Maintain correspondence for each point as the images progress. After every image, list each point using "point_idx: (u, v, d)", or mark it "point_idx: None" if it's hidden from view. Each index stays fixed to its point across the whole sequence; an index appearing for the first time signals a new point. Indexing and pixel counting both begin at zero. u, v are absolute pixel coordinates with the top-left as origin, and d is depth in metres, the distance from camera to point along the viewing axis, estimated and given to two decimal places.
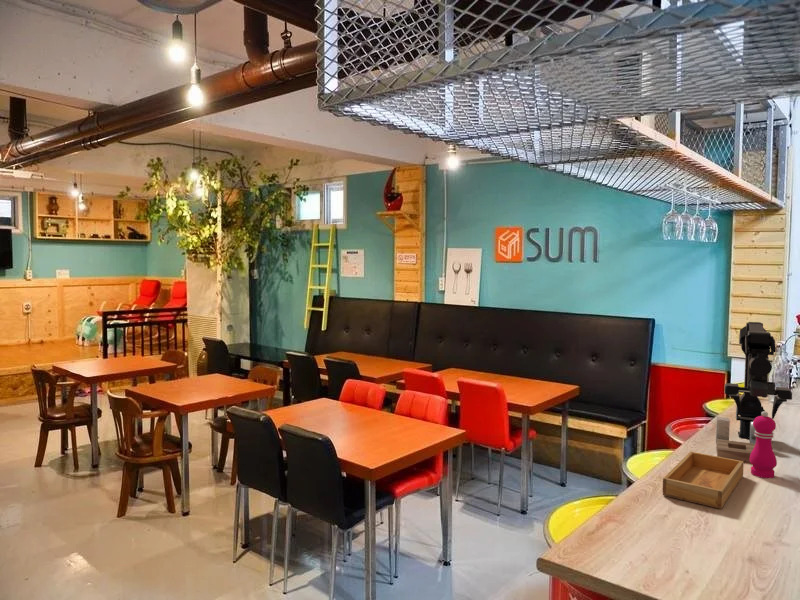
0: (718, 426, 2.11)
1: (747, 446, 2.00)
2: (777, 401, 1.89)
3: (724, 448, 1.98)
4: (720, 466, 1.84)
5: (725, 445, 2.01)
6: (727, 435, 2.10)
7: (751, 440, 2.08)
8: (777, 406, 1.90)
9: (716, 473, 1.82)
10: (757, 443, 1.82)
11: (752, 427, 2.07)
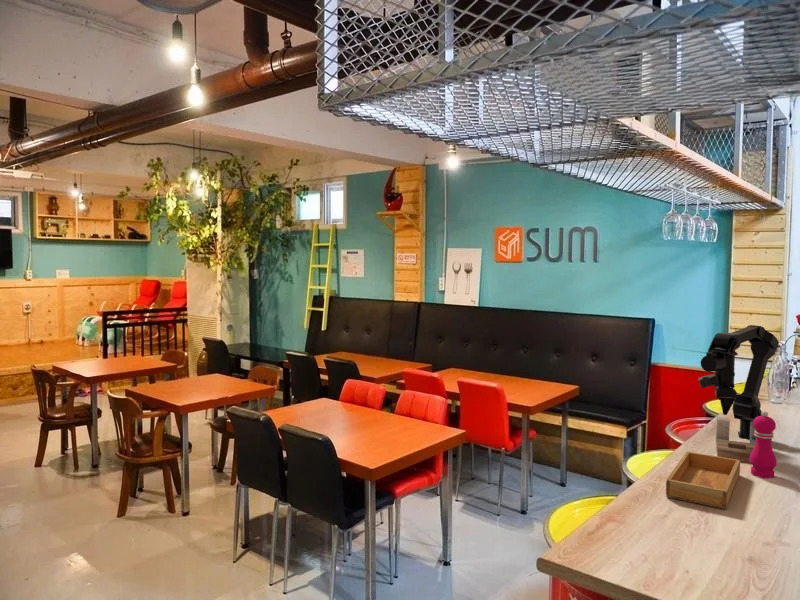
0: (718, 426, 2.11)
1: (747, 446, 2.00)
2: None
3: (724, 448, 1.98)
4: (717, 465, 1.85)
5: (725, 445, 2.01)
6: (727, 435, 2.10)
7: (751, 440, 2.08)
8: (721, 402, 2.07)
9: (713, 472, 1.83)
10: (757, 443, 1.82)
11: (752, 427, 2.07)
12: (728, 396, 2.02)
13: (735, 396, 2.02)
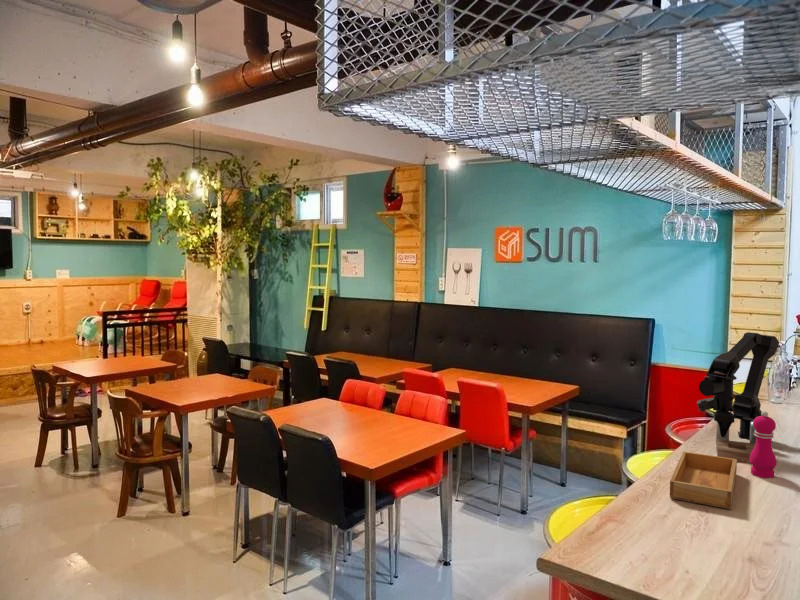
0: (718, 426, 2.11)
1: (747, 446, 2.00)
2: None
3: (724, 448, 1.98)
4: (714, 465, 1.85)
5: (725, 445, 2.01)
6: (727, 435, 2.10)
7: (751, 440, 2.08)
8: None
9: (711, 472, 1.83)
10: (757, 443, 1.82)
11: (752, 427, 2.07)
12: (726, 420, 2.03)
13: (733, 421, 2.03)
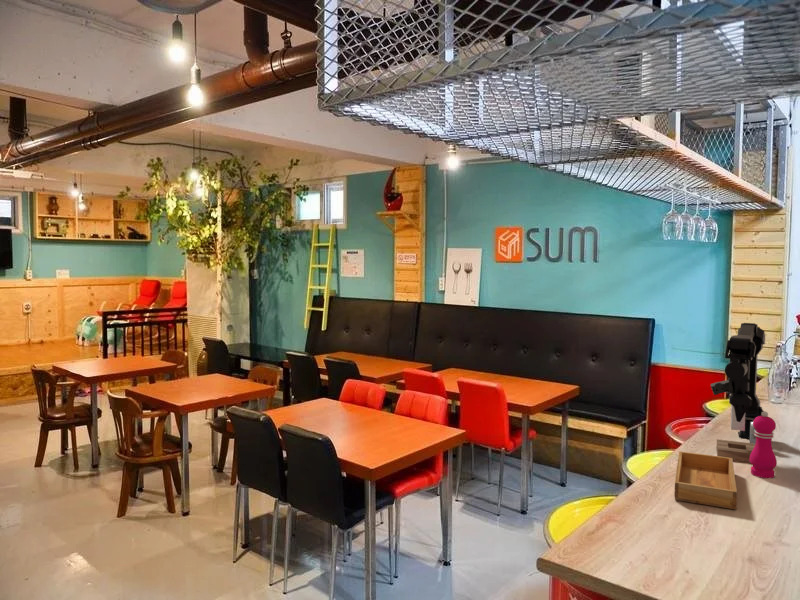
0: (733, 410, 1.98)
1: (747, 446, 2.00)
2: None
3: (724, 448, 1.98)
4: (710, 464, 1.86)
5: (725, 445, 2.01)
6: (743, 420, 1.97)
7: (751, 440, 2.08)
8: None
9: (708, 471, 1.84)
10: (757, 443, 1.82)
11: (752, 427, 2.07)
12: (742, 404, 1.90)
13: (750, 404, 1.90)
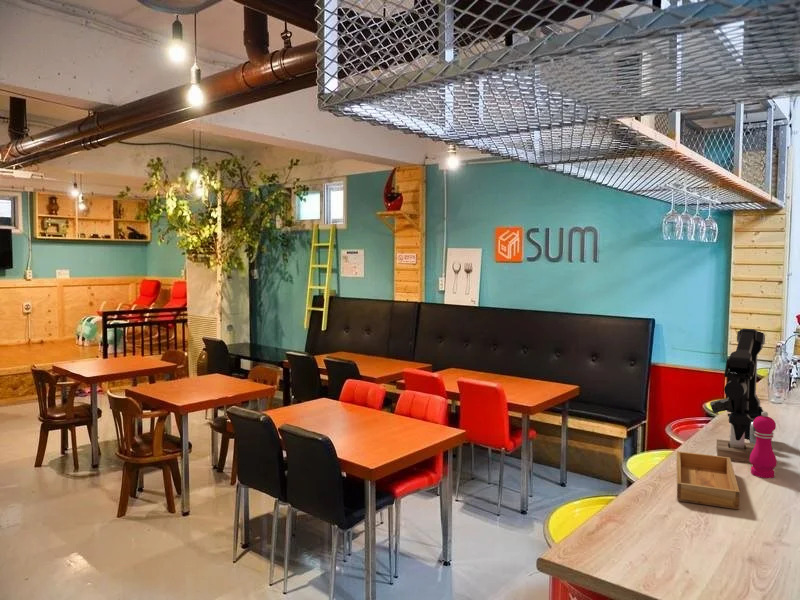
0: (733, 429, 1.99)
1: (747, 446, 2.00)
2: None
3: (724, 448, 1.98)
4: (708, 464, 1.86)
5: (725, 445, 2.01)
6: (742, 439, 1.98)
7: (751, 440, 2.08)
8: None
9: (706, 471, 1.84)
10: (757, 443, 1.82)
11: (752, 427, 2.07)
12: (742, 423, 1.91)
13: (749, 423, 1.90)
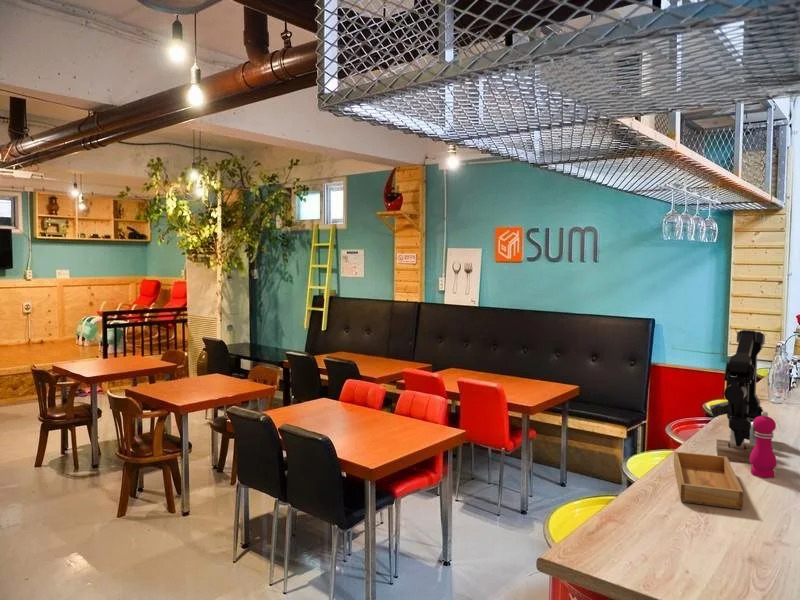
0: (732, 437, 1.99)
1: (747, 446, 2.00)
2: None
3: (724, 448, 1.98)
4: (705, 463, 1.87)
5: (725, 445, 2.01)
6: (742, 447, 1.98)
7: (751, 440, 2.08)
8: (734, 433, 1.95)
9: (704, 471, 1.84)
10: (757, 443, 1.82)
11: (752, 427, 2.07)
12: (742, 427, 1.91)
13: (749, 427, 1.90)
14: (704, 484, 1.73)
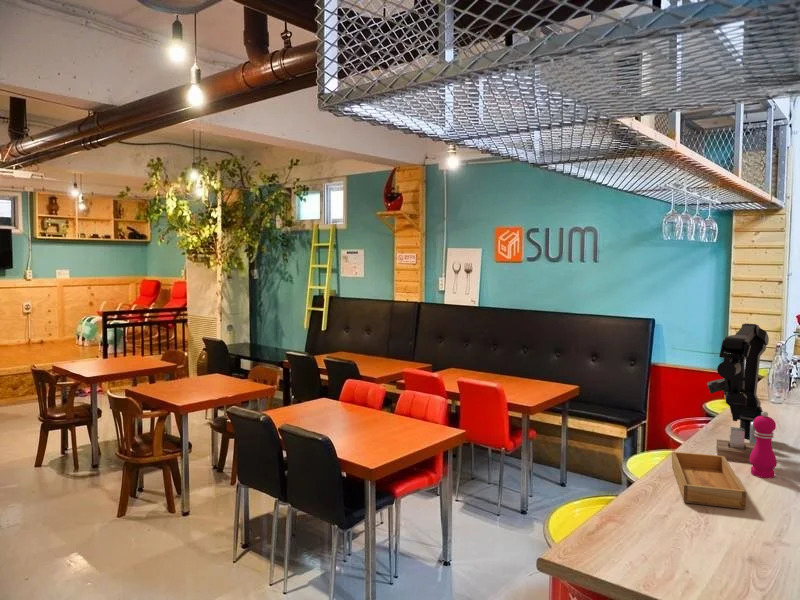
0: (732, 437, 1.99)
1: (747, 446, 2.00)
2: None
3: (724, 448, 1.98)
4: (703, 463, 1.87)
5: (725, 445, 2.01)
6: (742, 447, 1.98)
7: (751, 440, 2.08)
8: (730, 408, 2.00)
9: (702, 471, 1.84)
10: (757, 443, 1.82)
11: (752, 427, 2.07)
12: (738, 402, 1.96)
13: (746, 402, 1.95)
14: (704, 484, 1.73)
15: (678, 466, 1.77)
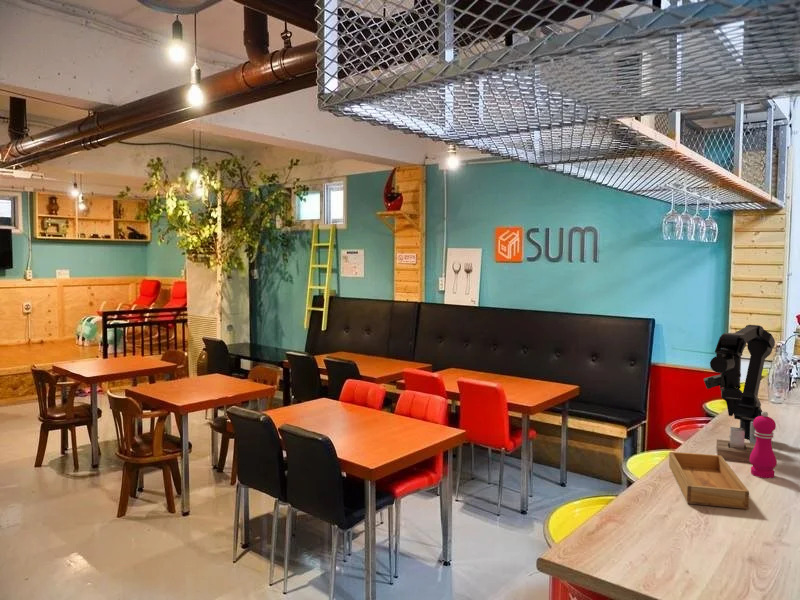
0: (732, 437, 1.99)
1: (747, 446, 2.00)
2: None
3: (724, 448, 1.98)
4: (700, 463, 1.87)
5: (725, 445, 2.01)
6: (742, 447, 1.98)
7: (751, 440, 2.08)
8: None
9: (700, 470, 1.85)
10: (757, 443, 1.82)
11: (752, 427, 2.07)
12: (734, 397, 2.00)
13: (741, 397, 1.99)
14: (705, 484, 1.73)
15: (678, 466, 1.76)
